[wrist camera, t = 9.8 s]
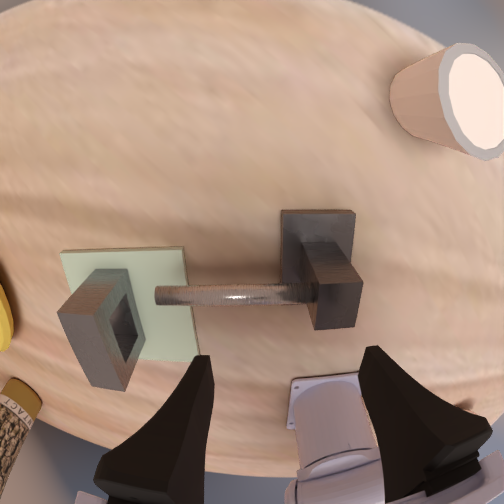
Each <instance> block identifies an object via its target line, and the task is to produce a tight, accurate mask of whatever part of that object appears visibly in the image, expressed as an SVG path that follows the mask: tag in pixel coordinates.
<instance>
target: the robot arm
mask: <svg viewBox="0 0 504 504" xmlns="http://www.w3.org/2000/svg"><path fill="white" fill-rule="evenodd" d="M214 385H215V384H214V379H213V373H212V367H211V361H210V355H196V356H195V357H194V358H193V360H192V362H191V364H190V366H189V368H188V370H187V371H186V373H185V375H184V376H183V378H182V379H181V381H180V382H179V384H178V386H177V387H176V389H175V390H174V391H173V393H172V394H171V395H170V397H169V398H168V399H167V401H166V402H165V403H164V405H163V406H162V407H161V408H160V409H159V410H158V412H157V413H156V414H155V415H154V416H153V417H152V418H151V419H150V420H149V421H148V422H147V423H146V424H145V425H144V426H143V427H142V428H141V429H139V430H138V431H137V432H136V433H135V434H133V435H132V436H131V437H130V438H128V439H127V440H126V441H124V442H123V443H122V444H120V445H119V446H117V447H116V448H114V449H112V450H111V451H109V452H108V453H106V454H104V455H103V456H102V457H101V460H100V461H99V464H98V466H97V469H96V472H95V475H94V479H93V481H94V483H95V485H97V486H98V487H99V488H100V489H101V490H103V491H104V492H105V493H107V494H108V495H109V499H108V501H107V500H105V499H103V498H100V497H97V496H94V495H91V494H88V493H85V492H82V491H78V493H77V497H76V500H75V503H74V504H204V471H205V451H206V443H207V437H208V431H209V426H210V420H211V415H212V409H213V402H214ZM361 394H362V397H363V399H364V402H365V405H366V408H367V410H368V413H369V416H370V418H371V421H372V424H373V427H374V430H375V433H376V436H377V441H378V446H379V447H377V446H376V443H375V440H374V437H373V434H372V430H371V427H370V424H369V421H368V418H367V415H366V412H365V409H364V406H363V403H362V400H361ZM286 426H287V429H295V431H296V438H297V446H298V455H299V463H300V468H301V469H300V470H297V478H298V479H296V480H292V481H291V482H290V484H289V486H288V487H287V489H286V491H285V504H487V503H488V502H490V501H491V500H493V499H494V498H496V497H497V496H499V495H500V494H501V493H503V492H504V460H503V458H502V455H501V453H500V452H499V450H497V451H495V452H493V453H492V454H490V455H489V456H487V457H485V458H483V459H482V460H481V461H479V462H478V460H477V457H479V452H478V449H479V448H480V447H481V446H482V445H483V444H484V443H485V442H486V441H487V440H488V439H489V438H490V436H491V434H492V432H493V430H492V428H491V426H490V425H489V423H488V421H487V419H486V418H485V417H482V416H478V415H475V414H472V413H469V412H467V411H465V410H462V409H460V408H458V407H456V406H454V405H452V404H450V403H448V402H446V401H444V400H442V399H441V398H439V397H438V396H436V395H435V394H433V393H432V392H430V391H429V390H427V389H426V388H424V387H423V386H422V385H421V384H419V383H418V382H417V381H416V380H414V379H413V378H412V377H411V376H410V375H409V374H407V373H406V372H405V371H404V370H403V369H402V368H401V367H400V366H399V365H398V364H397V363H396V362H395V361H394V360H393V359H391V358H390V357H389V356H388V355H387V354H386V353H385V352H384V351H383V350H382V349H381V348H380V347H379V346H378V345H377V346H369V347H366V350H365V353H364V356H363V360H362V363H361V366H360V369H359V372H358V373H351V374H343V375H334V376H325V377H315V378H303V379H295V380H293V381H292V384H291V393H290V401H289V410H288V417H287V425H286Z"/></svg>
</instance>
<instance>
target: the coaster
mask: <svg viewBox="0 0 504 504" xmlns="http://www.w3.org/2000/svg"><path fill="white" fill-rule="evenodd" d="M59 254H60V257H61V261H62V265H63V268H64V271H65V275H66V278H67V281H68V284H69V288H70V291H71V294H73V293H74V292H75V291H76V289H77V288H78V287H79V286H80V285H81V284H82V283H83V282H84V281H85V280H86V278H87V277H88V276H89V275H90V274H91V273H92V272H93V271H94V270H95V269H128V273H129V277H130V281H131V286H132V290H133V294H134V298H135V302H136V306H137V309H138V313H139V317H140V320H141V324H142V327H143V331H144V334H145V338H146V341H145V343H144V346H143V348H142V350H141V353H140V355H139V358H138V359H146V360H159V361H175V362H192V360H193V358H194V357H195V356H196V355H200V352H199V347H198V341H197V335H196V330H195V324H194V318H193V312H192V306H157V305H156V303H155V298H154V292H155V287H156V286H157V285H188V278H187V271H186V264H185V256H184V248H183V247H155V248H124V249H94V250H66V251H62V252H61V253H59Z"/></svg>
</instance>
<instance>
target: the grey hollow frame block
mask: <svg viewBox="0 0 504 504" xmlns="http://www.w3.org/2000/svg"><path fill="white" fill-rule="evenodd" d="M57 314H58V317H59V319H60V322H61V324H62V327H63V329H64V331H65V333H66V336H67V338H68V340H69V342H70V345H71V347H72V349H73V351H74V353H75V355H76V357H77V359H78V361H79V363H80V365H81V367H82V369H83V371H84V373H85V375H86V377H87V378H88V380H89V382H90V384H91V386H94V387H99V388H105V389H110V390H117V391H123V392H125V391H126V388H127V386H128V383H129V380H130V378H131V375H132V373H133V370H134V368H135V365H136V363H137V360H138V358H139V355H140V353H141V350H142V348H143V346H144V343H145V341H146V338H145V334H144V331H143V327H142V324H141V320H140V317H139V313H138V309H137V306H136V302H135V298H134V294H133V290H132V286H131V281H130V277H129V273H128V269H95V270H94V271H93V272H92V273H91V274H90V275H89V276H88V277H87V278H86V280H85V281H84V282H83V283H82V284H81V285H80V286H79V287H78V288H77V289H76V291H75V292H74V293H73V294H72V295H71V296H70V297H69V299H68V300H67V301H66V302H65V303H64V304H63V306H62V307H61V308H60V309H59V310H58V311H57Z"/></svg>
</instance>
